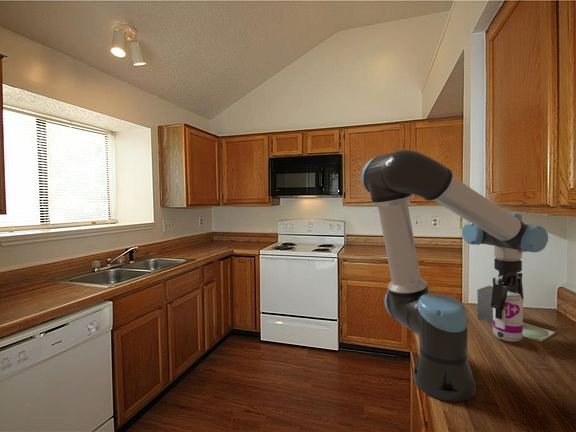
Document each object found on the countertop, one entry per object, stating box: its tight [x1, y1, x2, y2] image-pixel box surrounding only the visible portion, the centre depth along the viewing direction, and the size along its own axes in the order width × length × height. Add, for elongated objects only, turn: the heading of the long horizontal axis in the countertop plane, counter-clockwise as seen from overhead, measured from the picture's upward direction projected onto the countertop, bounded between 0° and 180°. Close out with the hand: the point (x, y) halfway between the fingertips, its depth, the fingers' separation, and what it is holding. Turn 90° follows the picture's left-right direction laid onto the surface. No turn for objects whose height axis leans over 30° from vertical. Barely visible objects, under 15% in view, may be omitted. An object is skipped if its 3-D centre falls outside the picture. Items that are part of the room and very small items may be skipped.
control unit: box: [476, 285, 509, 324], centre depth 119 cm, size 8×10×12 cm
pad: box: [523, 322, 556, 342], centre depth 109 cm, size 10×10×1 cm
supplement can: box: [492, 291, 524, 343], centre depth 104 cm, size 8×8×15 cm
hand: (507, 324), depth 105 cm, fingers closed on supplement can, 8 cm apart
